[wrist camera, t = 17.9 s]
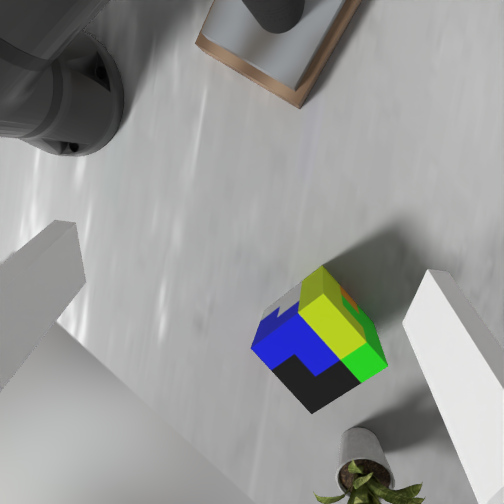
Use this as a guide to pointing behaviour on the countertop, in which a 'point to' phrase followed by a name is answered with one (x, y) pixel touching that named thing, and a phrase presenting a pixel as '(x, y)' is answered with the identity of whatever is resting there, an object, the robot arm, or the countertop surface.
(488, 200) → the countertop surface
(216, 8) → the two-layer plinth
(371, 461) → the house plant
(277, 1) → the drinking cup
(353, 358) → the puzzle toy
